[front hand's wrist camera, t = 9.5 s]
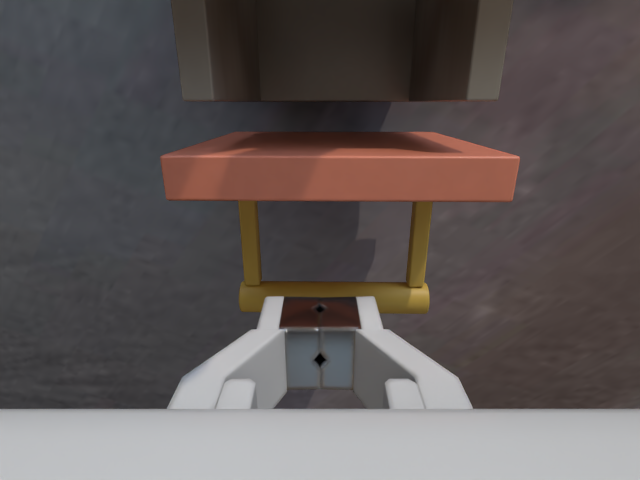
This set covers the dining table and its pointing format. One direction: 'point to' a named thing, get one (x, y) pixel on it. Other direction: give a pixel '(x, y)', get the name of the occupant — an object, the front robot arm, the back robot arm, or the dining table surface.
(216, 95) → the drawer
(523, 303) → the dining table surface
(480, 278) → the dining table surface
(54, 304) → the dining table surface
